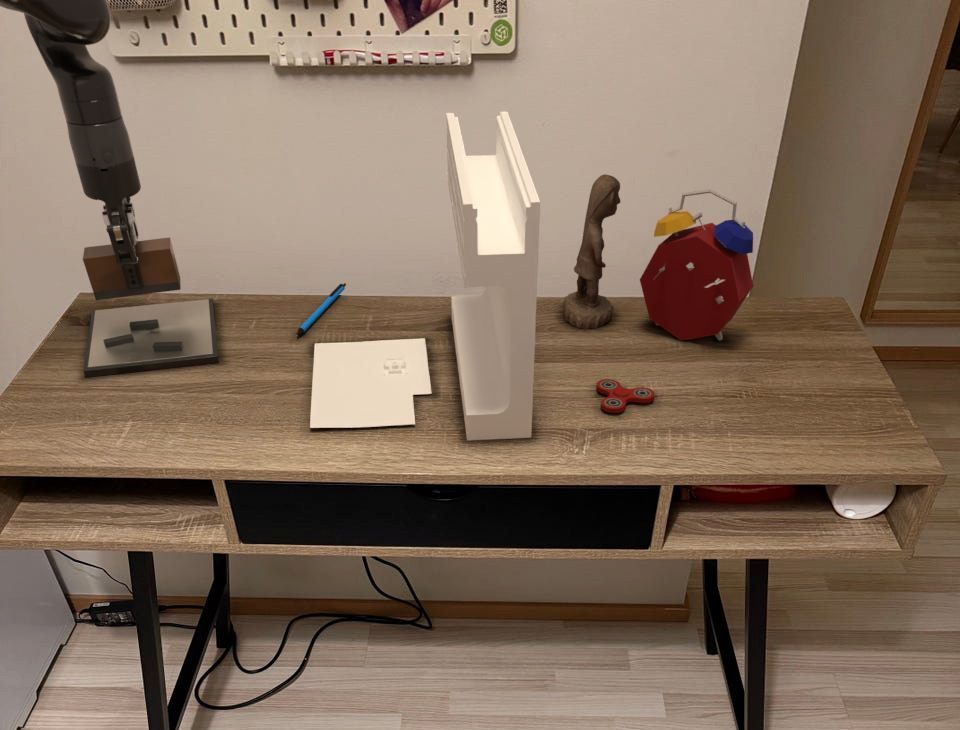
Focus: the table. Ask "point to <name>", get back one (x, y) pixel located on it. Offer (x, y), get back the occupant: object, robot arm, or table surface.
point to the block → (495, 282)
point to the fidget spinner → (621, 395)
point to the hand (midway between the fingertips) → (136, 281)
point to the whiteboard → (152, 337)
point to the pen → (321, 309)
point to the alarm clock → (697, 273)
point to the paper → (368, 383)
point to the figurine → (592, 259)
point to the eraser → (152, 263)
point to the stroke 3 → (167, 346)
